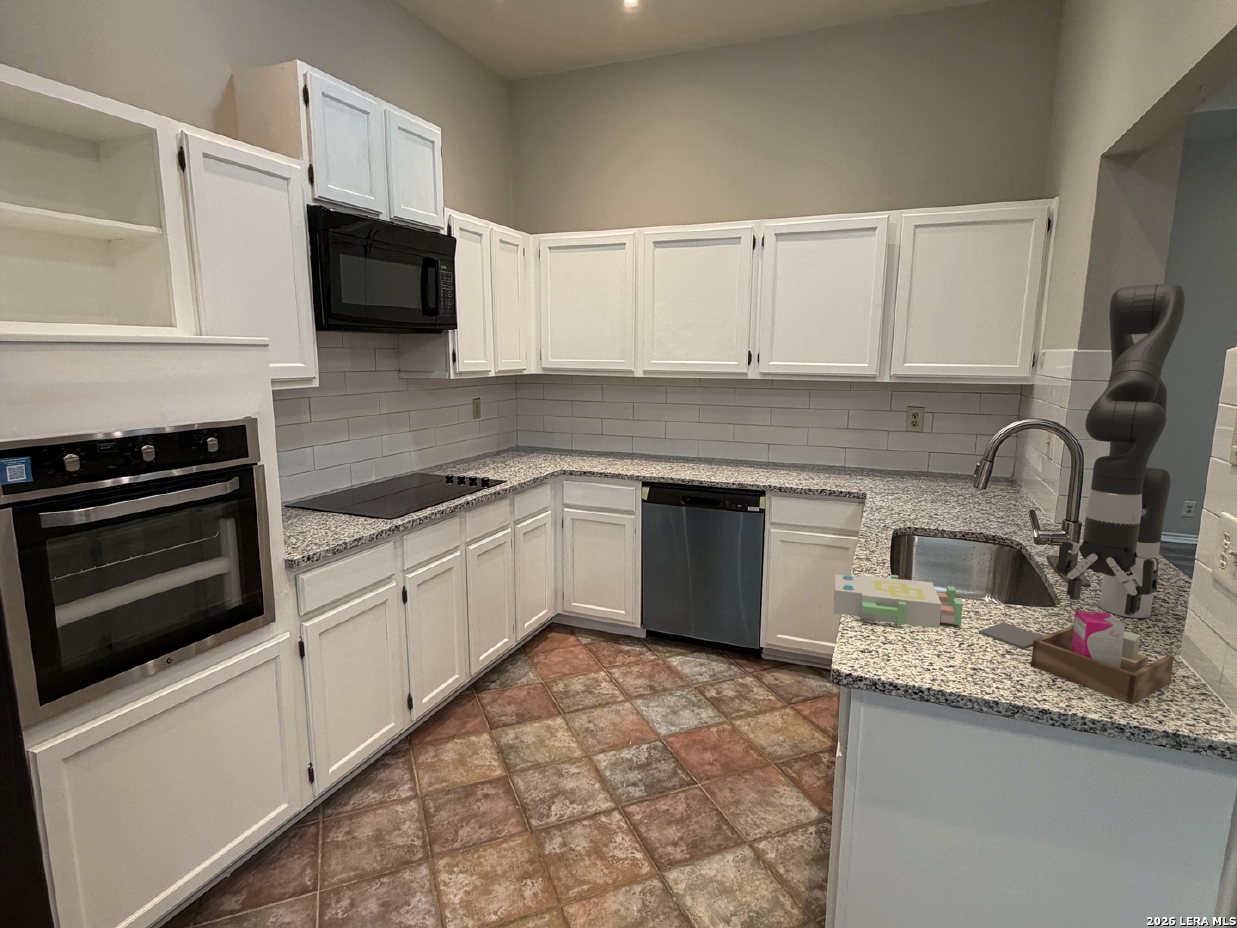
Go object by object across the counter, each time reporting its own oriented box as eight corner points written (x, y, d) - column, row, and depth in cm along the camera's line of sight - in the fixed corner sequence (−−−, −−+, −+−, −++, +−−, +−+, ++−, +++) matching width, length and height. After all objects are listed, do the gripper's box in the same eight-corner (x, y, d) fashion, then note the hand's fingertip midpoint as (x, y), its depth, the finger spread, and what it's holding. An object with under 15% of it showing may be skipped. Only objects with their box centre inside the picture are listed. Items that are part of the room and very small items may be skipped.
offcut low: (1088, 657, 125) (1091, 638, 124) (1144, 677, 117) (1147, 656, 117) (1075, 663, 123) (1078, 643, 122) (1132, 684, 115) (1135, 662, 114)
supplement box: (1104, 672, 119) (1111, 612, 117) (1118, 687, 113) (1127, 625, 111) (1067, 667, 120) (1074, 608, 119) (1080, 682, 115) (1087, 621, 113)
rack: (1070, 648, 128) (1073, 624, 128) (1170, 682, 115) (1174, 656, 114) (1030, 665, 121) (1033, 640, 120) (1132, 704, 107) (1135, 676, 107)
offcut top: (1092, 640, 123) (1094, 623, 123) (1138, 653, 118) (1140, 635, 118) (1085, 646, 121) (1087, 628, 120) (1132, 659, 116) (1134, 640, 115)
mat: (1003, 624, 140) (1003, 622, 140) (1047, 639, 132) (1047, 637, 132) (978, 633, 136) (979, 630, 135) (1023, 649, 128) (1023, 647, 128)
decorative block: (835, 593, 141) (835, 566, 160) (833, 621, 142) (834, 591, 161) (966, 608, 133) (951, 577, 152) (964, 637, 134) (948, 603, 153)
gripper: (1172, 523, 108) (1159, 616, 110) (1077, 506, 120) (1067, 590, 123) (1152, 528, 104) (1139, 624, 107) (1056, 511, 116) (1046, 597, 119)
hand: (1101, 606), depth 115 cm, fingers open, 8 cm apart
